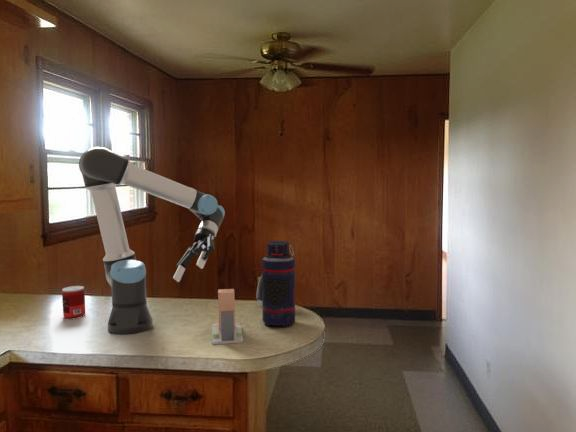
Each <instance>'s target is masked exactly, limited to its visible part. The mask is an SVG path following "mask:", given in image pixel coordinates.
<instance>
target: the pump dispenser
mask: <svg viewBox="0 0 576 432" xmlns="http://www.w3.org/2000/svg"><path fill="white" fill-rule="evenodd" d="M255 299H256V300H257V302H258V304H259V306H261V307H262V274H261V276H260V278H259V281H258V283H257V288H256V297H255Z"/></svg>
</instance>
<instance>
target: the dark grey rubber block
mask: <svg viewBox="0 0 576 432" xmlns="http://www.w3.org/2000/svg"><path fill="white" fill-rule="evenodd" d="M221 340H222V341H234V313H233V311H221Z"/></svg>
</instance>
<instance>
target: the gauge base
mask: <svg viewBox="0 0 576 432" xmlns="http://www.w3.org/2000/svg"><path fill="white" fill-rule="evenodd" d="M211 328H212V331H211V333H212V335H211V336H212V337H211V344H212V345H221V344H224V345H225V344H236V343H237V344H238V343H244V335H243V330H242V324H241V325H235V329H234V341H222V340H221V330H219V326H216V327H213V326H212V327H211Z"/></svg>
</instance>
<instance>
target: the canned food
mask: <svg viewBox="0 0 576 432" xmlns="http://www.w3.org/2000/svg"><path fill="white" fill-rule="evenodd" d="M61 290H62V291H61V292H62V293H61V296H62V297H61V298H62V299H61V300H62V316H63V318H64V319H66V320H74V319H73V318H75V319H79V318H78V317H80V318H82V317H84V316H85V315H86V299H85V298H86V297H85V286H82V285H72V286H66V287H63V288H62V289H61ZM83 315H84V316H83ZM81 316H82V317H81Z"/></svg>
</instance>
